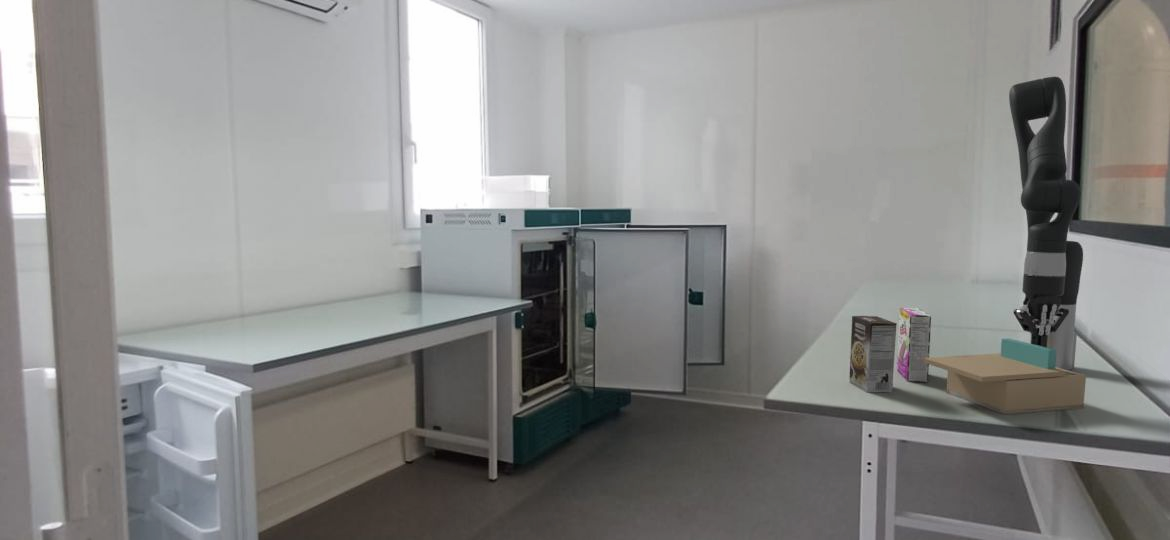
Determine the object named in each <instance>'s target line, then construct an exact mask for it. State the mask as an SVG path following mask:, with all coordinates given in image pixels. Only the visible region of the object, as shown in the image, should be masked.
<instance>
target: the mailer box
mask: <svg viewBox="0 0 1170 540" xmlns="http://www.w3.org/2000/svg"><path fill="white" fill-rule="evenodd" d="M1055 369H1059V370H1062V371H1065V376H1058V377H1044V378H1029V379H1015V380H1000V381H986V382H981V381H978V380H975V379H972V378H969V377H966V376H963V375H960V374H957V373H954V372H951V371H948V370H947V381H946V394H949V395H952V396H955V397H957V398H959V399H963V400H965V401H968V402H971V403H973V404H975V405H978V406H982V407H984V408H986V409H989V410H991V411H992V410H993V411H994V412H997V413H1000V414H1003V415H1013V414H1027V413H1037V412H1038V413H1039V412H1048V411H1050V412H1051V411H1063V410H1073V409H1074V410H1075V409H1083V408H1084V404H1085V396H1086V395H1085V392H1086V382H1087V375H1086V374H1082V373H1078V372H1075V371H1071V370H1069V371H1068V370H1064V369H1060V368H1057V367H1055Z"/></svg>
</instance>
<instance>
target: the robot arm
mask: <svg viewBox="0 0 1170 540" xmlns="http://www.w3.org/2000/svg"><path fill="white" fill-rule="evenodd" d="M1065 88H1066V87H1065V84H1064V82H1063V80H1062V79H1061V78H1060V77H1059V76H1048V77H1042V78H1038V79H1033V80H1029V81H1025V82H1024V81H1023V82H1020V83H1017V84H1016V83H1015V84H1013V85H1012V86H1011V88H1010V89H1009V93H1008V94H1009V95H1008V99H1009V108H1010V114H1011V119H1012V123H1013V128H1014V134H1015V139H1016V144H1017V149H1018V158H1019V170H1020V179H1021V188H1022V192H1021V195H1020V204H1021V205H1022V207H1023V209H1024V210H1025V213H1026V214H1025V215H1026V222H1027V244H1026V254H1025V259H1024V263H1023V265H1024V266H1023V275H1022V289H1021V291H1022V293H1023V294H1024V295H1025V297H1024V300H1023V303H1022V306H1021V307H1020V308H1019V309H1017V308H1014V309H1013V314H1014V316H1015V318H1016V320H1017V321H1018V323H1019V325H1020V326H1021V328H1022V330H1023V331H1024V332H1027V333H1030V342H1029V343H1030V344H1034V345H1038V346H1042V347H1047V348H1051V349H1055V350H1057V353H1056V365H1055V367H1057V368H1060V369H1064V370H1068V371H1071V370H1072V369H1073V370H1074V369H1075V361H1076V352H1077V351H1076V350H1077V349H1076V347H1077V338H1078V337H1077V336H1078V335H1077V334H1078V333H1077V331H1076V332H1075V326H1076V325H1075V323H1076V313H1077V301H1078V300H1077V299H1078V294H1079V290H1080V285H1081V276H1082V268H1083V263H1084V250H1083V246H1082V244H1081V243H1080V242H1078V241H1073V240H1068V232H1069V228H1070V225H1071V222H1072V219H1073V218H1074V214H1075V212H1076V210H1077V208H1078V205H1079V204H1080V201H1081V198H1082V190H1081V189H1082V188H1080V185H1079V184H1078V183H1077V182H1076V181H1074V180H1072V179H1067V175H1066V173H1067V170H1068V168H1067V159H1066V152H1065V151H1066V150H1065V131H1066V122H1067V120H1066V118H1067V117H1066V116H1067V96H1066V89H1065ZM1045 118H1047V119H1046V121H1045V122H1044V124H1043V125H1042V126H1041V128H1040V129H1039V130H1038V131H1037V132H1036V133H1034V131H1033V129H1032V127H1031V125H1030V123H1029V122H1030V121H1032V120H1033V121H1034V120H1039V119H1045ZM1055 214H1057V215H1056V217H1055V218H1054V219H1053V220H1052V218H1053V217H1054V215H1055Z"/></svg>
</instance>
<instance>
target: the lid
mask: <svg viewBox="0 0 1170 540" xmlns="http://www.w3.org/2000/svg"><path fill="white" fill-rule="evenodd" d="M1000 343H1001V344H1000V346H1001V347H1000V353H985V354H971V355H970V354H967V355H953V356H952V355H951V356H935V357H934V356H933V357H929V358H923V363H926V364H929V366H930V365H931V366H932V367H935V368H939V369H941V370H945V371H947V372H948V371H951V372H954V373H957V374H960V375H963V376H966V377H969V378H972V379H975V380H978V381H981V382H986V381H1000V380H1015V379H1029V378H1044V377H1058V376H1065V371H1062V370H1059V369H1055V365H1056V353H1057V350H1055V349H1051V348H1047V347H1042V346H1038V345H1034V344H1030V342H1025V341H1021V340H1016V339H1013V338H1008V337H1007V338H1001V342H1000Z"/></svg>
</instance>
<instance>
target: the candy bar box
mask: <svg viewBox="0 0 1170 540" xmlns="http://www.w3.org/2000/svg"><path fill="white" fill-rule="evenodd" d="M898 308H899V309H898V328H897V329H898V333H897V335H898V336H897V337H898V339H897V355H896V360H897V361H896V371H897V372H898V373H899V374H900V375H901V376H902V377H903V378H904V379H905V380H906V381H907V382H910V383H912V382H913V383H928V382H929V371H930V370H929V368H930V365H929V364H926V363H923V358H930V350H931V349H930V347H931V331H932V330H931V325H932V315H930V314H929V313H927V312H925V311H923V309H921V308H918V307H898Z"/></svg>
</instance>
